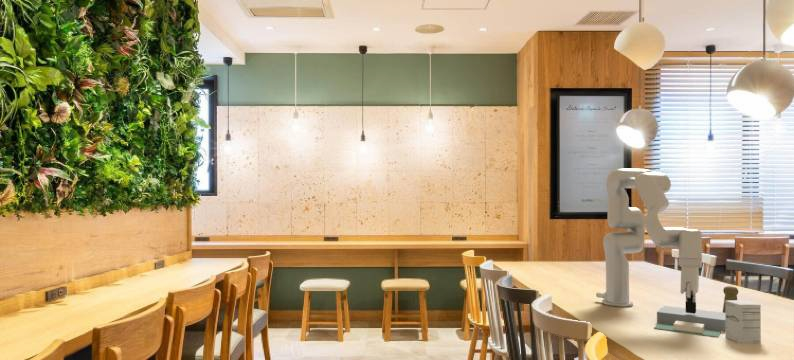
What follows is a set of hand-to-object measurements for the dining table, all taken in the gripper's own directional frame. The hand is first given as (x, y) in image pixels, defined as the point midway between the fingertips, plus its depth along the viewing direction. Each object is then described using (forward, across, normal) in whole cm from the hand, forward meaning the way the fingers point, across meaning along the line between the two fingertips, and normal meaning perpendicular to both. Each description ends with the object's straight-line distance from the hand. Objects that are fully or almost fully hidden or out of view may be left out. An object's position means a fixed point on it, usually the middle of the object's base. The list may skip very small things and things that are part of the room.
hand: (690, 312), depth 200 cm
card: (+3, +8, 0) cm, 9 cm away
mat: (+5, +8, 0) cm, 10 cm away
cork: (+5, -33, +10) cm, 35 cm away
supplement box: (+5, +12, +17) cm, 22 cm away
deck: (+5, -5, 0) cm, 7 cm away
